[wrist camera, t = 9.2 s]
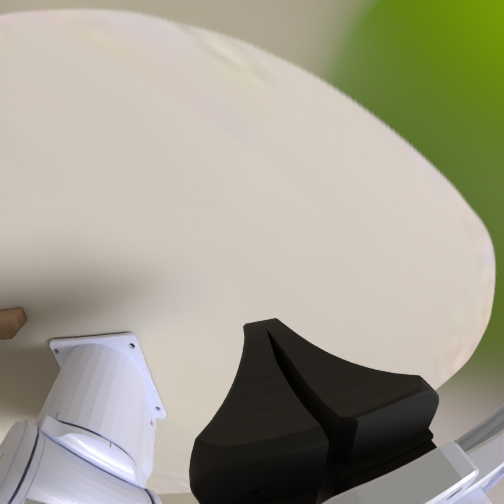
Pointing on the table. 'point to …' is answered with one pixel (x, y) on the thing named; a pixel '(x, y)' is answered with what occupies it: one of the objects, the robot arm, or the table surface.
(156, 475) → the table surface
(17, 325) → the brown wooden tray
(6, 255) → the table surface
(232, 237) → the table surface
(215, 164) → the table surface
